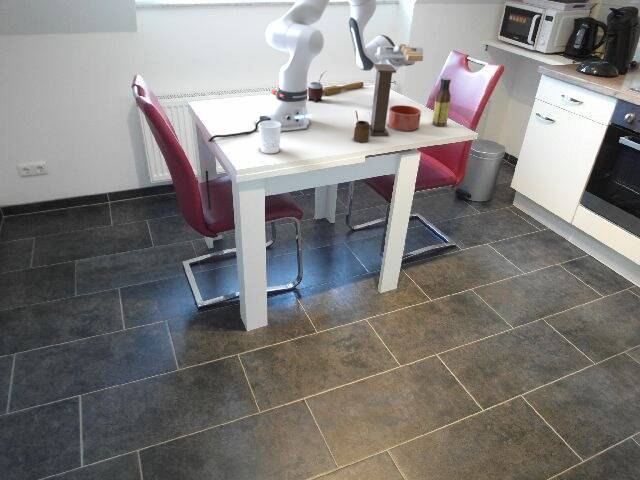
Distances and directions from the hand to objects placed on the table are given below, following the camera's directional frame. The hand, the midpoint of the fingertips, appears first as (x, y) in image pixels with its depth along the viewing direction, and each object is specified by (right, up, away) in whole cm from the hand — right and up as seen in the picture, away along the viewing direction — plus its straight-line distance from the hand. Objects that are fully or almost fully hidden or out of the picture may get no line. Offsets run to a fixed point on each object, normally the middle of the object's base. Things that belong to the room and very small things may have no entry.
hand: (404, 46), depth 207 cm
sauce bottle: (+16, -31, +7) cm, 36 cm away
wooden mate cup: (-20, -43, -13) cm, 49 cm away
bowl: (0, -33, +3) cm, 33 cm away
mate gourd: (-38, -15, +28) cm, 49 cm away
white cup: (-54, -49, -27) cm, 78 cm away
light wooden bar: (+1, -5, -6) cm, 8 cm away
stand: (-12, -37, -4) cm, 39 cm away
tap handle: (-25, -6, +44) cm, 50 cm away
